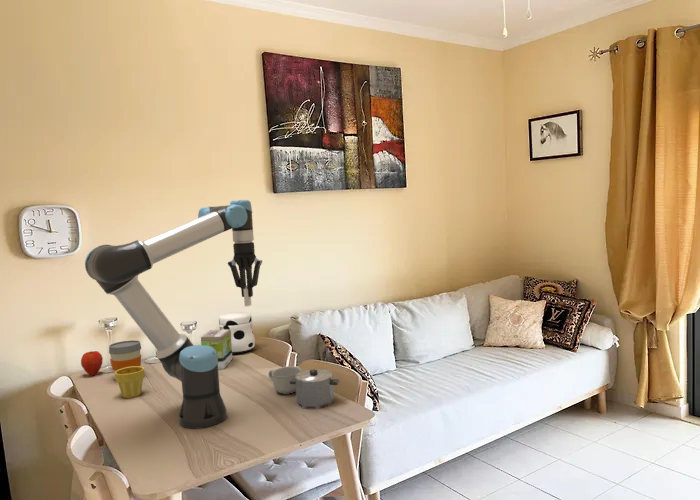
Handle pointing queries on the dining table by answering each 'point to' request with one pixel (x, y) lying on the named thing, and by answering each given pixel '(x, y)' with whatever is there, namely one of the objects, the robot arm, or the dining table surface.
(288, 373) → the teacup
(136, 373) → the plant pot
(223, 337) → the tea box
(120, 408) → the dining table surface
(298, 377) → the lid
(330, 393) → the cooker
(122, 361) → the reusable coffee cup
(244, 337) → the milk container
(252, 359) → the dining table surface
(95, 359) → the apple
